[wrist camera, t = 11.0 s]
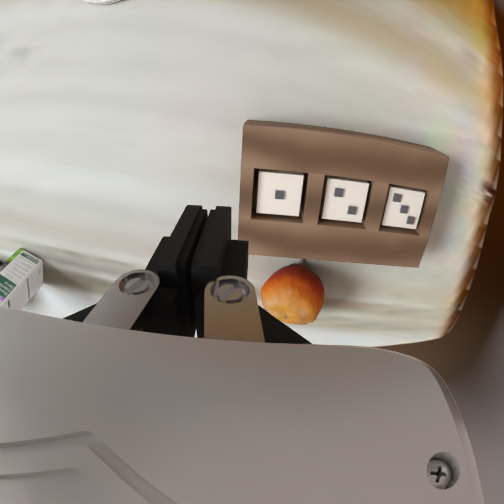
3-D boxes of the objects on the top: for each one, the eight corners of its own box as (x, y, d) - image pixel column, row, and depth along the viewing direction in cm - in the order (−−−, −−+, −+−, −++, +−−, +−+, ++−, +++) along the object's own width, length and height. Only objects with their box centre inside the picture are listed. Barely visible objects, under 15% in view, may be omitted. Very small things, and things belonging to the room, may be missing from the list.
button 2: (324, 173, 32) (328, 178, 30) (364, 178, 32) (369, 184, 30) (319, 211, 34) (321, 219, 32) (356, 215, 34) (361, 223, 32)
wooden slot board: (247, 120, 32) (243, 124, 28) (429, 147, 31) (449, 156, 27) (241, 233, 39) (237, 253, 35) (404, 247, 38) (418, 267, 34)
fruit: (345, 279, 40) (328, 331, 35) (304, 289, 46) (285, 335, 42) (306, 239, 37) (282, 293, 33) (267, 255, 43) (242, 302, 39)
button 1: (259, 166, 32) (258, 172, 30) (301, 170, 32) (303, 176, 30) (257, 205, 34) (256, 213, 33) (297, 209, 34) (298, 217, 32)
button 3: (384, 181, 32) (391, 187, 30) (418, 187, 32) (426, 193, 30) (376, 217, 34) (382, 225, 32) (409, 221, 34) (416, 230, 32)
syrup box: (43, 259, 43) (-6, 313, 31) (44, 284, 46) (0, 338, 34) (20, 246, 42) (-30, 295, 30) (21, 272, 45) (-23, 321, 33)
